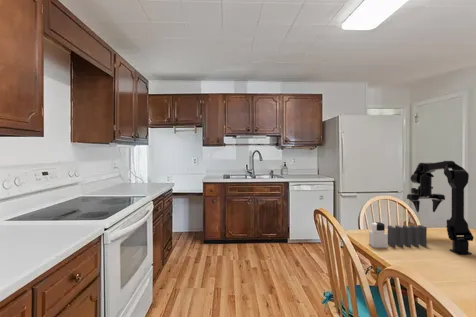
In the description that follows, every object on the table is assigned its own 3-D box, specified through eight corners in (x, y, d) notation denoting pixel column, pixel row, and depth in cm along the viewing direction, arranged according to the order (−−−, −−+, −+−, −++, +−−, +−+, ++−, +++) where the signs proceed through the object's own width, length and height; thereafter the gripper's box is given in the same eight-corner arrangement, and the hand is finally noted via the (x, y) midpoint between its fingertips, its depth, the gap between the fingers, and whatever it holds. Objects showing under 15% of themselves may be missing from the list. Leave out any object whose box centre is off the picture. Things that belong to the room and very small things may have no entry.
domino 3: (410, 246, 161) (411, 227, 161) (407, 247, 161) (407, 227, 161) (405, 244, 166) (405, 225, 166) (402, 244, 166) (402, 225, 166)
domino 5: (426, 246, 161) (426, 227, 161) (423, 246, 161) (423, 227, 161) (420, 243, 166) (420, 225, 166) (417, 243, 166) (417, 225, 166)
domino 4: (418, 246, 161) (418, 227, 161) (415, 246, 161) (415, 227, 161) (413, 243, 166) (413, 225, 166) (410, 244, 166) (410, 225, 166)
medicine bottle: (382, 244, 167) (382, 221, 166) (387, 248, 160) (387, 224, 159) (368, 243, 167) (368, 221, 167) (373, 247, 160) (373, 224, 160)
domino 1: (395, 247, 161) (395, 227, 161) (392, 247, 161) (392, 227, 161) (390, 244, 166) (390, 225, 166) (387, 244, 166) (387, 225, 166)
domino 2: (403, 247, 161) (403, 227, 161) (400, 247, 161) (400, 227, 161) (398, 244, 166) (398, 225, 166) (395, 244, 166) (395, 225, 166)
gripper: (433, 183, 186) (433, 209, 187) (401, 183, 186) (401, 209, 186) (445, 185, 175) (445, 212, 175) (412, 185, 175) (412, 213, 175)
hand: (425, 212), depth 178 cm, fingers open, 9 cm apart
